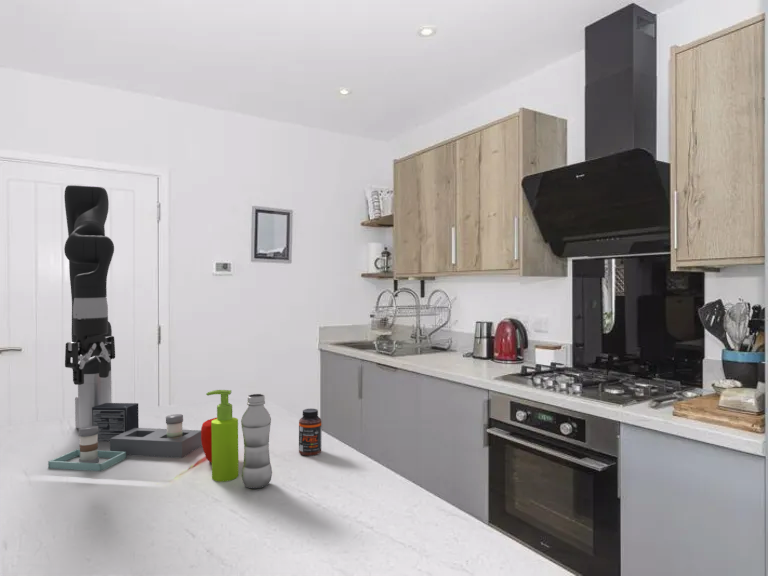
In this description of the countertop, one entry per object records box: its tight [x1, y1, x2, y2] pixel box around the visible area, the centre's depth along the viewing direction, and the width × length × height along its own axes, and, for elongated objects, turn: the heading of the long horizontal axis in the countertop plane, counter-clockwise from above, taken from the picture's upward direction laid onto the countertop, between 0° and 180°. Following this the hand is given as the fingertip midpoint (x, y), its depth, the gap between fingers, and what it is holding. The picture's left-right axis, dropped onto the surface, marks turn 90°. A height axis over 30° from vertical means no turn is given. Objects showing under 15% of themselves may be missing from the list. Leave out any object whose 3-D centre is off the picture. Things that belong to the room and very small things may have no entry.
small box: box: [92, 402, 140, 442], centre depth 146 cm, size 11×6×10 cm, turn 84°
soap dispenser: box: [205, 389, 240, 483], centre depth 119 cm, size 6×7×20 cm
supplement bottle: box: [298, 408, 323, 457], centre depth 135 cm, size 6×6×11 cm
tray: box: [47, 448, 127, 472], centre depth 126 cm, size 14×9×2 cm, turn 81°
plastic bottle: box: [240, 393, 273, 489], centre depth 113 cm, size 6×7×20 cm
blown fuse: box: [78, 426, 100, 463], centre depth 126 cm, size 4×4×9 cm
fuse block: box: [109, 413, 202, 459], centre depth 135 cm, size 20×10×10 cm, turn 81°
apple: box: [200, 417, 217, 464], centre depth 129 cm, size 9×9×11 cm
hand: (91, 380), depth 128 cm, fingers open, 8 cm apart
